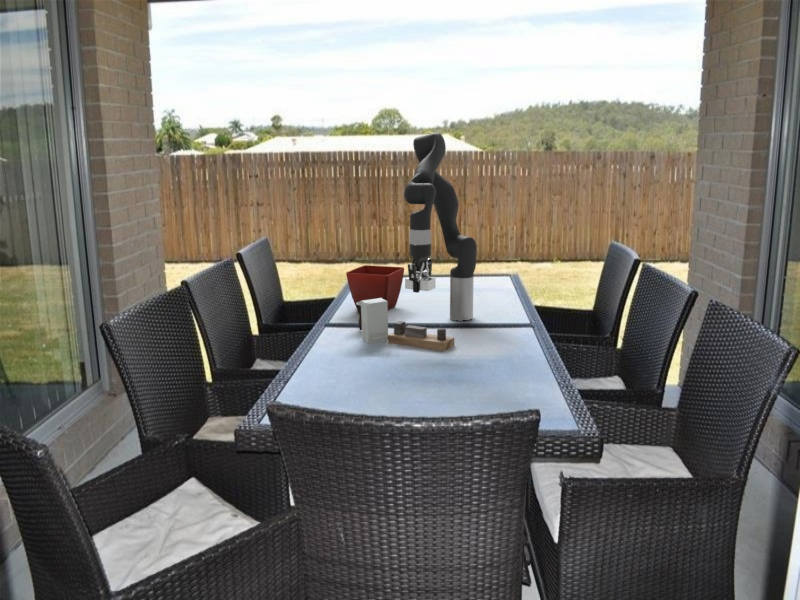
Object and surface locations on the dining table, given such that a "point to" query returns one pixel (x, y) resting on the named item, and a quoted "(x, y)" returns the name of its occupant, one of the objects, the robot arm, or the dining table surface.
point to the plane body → (420, 337)
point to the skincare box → (374, 320)
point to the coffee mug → (359, 314)
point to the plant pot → (376, 283)
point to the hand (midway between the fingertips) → (420, 290)
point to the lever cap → (422, 283)
